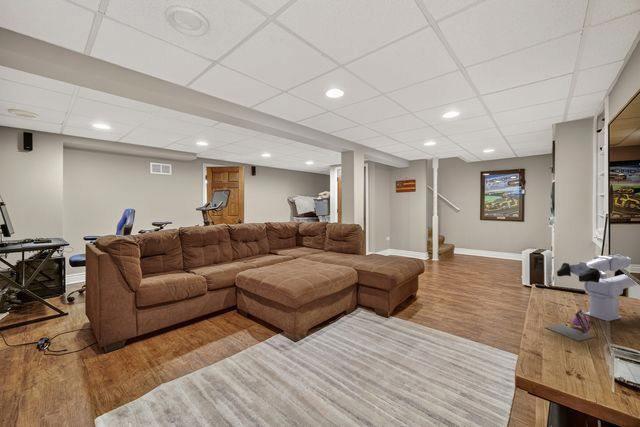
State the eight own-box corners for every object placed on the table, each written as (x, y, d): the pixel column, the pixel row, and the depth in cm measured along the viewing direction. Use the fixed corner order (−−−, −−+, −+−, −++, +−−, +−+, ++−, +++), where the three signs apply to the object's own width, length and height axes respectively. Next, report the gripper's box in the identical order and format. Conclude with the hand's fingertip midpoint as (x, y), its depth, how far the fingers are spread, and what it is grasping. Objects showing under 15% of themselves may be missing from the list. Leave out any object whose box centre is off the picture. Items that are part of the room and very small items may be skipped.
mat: (560, 324, 109) (560, 323, 109) (595, 337, 99) (595, 336, 99) (544, 327, 107) (544, 327, 107) (578, 341, 96) (578, 340, 96)
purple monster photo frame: (578, 313, 103) (584, 309, 108) (562, 314, 107) (568, 310, 112) (587, 332, 101) (592, 326, 106) (570, 332, 105) (576, 327, 110)
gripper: (570, 255, 120) (548, 262, 116) (613, 262, 106) (589, 271, 102) (571, 270, 121) (549, 278, 117) (614, 280, 107) (591, 289, 103)
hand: (568, 276), depth 110 cm, fingers open, 7 cm apart
